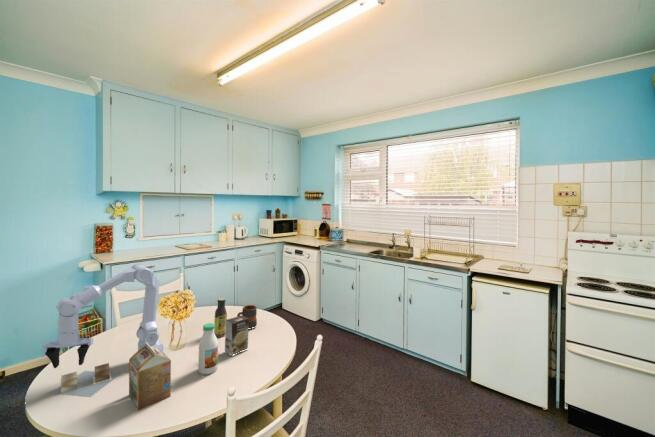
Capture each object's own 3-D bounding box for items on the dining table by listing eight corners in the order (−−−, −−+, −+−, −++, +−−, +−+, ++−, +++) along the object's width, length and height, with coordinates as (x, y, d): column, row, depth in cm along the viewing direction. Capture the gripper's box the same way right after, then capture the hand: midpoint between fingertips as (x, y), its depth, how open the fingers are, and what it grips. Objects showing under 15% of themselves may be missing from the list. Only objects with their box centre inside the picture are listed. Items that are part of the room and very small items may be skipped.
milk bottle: (197, 376, 122) (197, 329, 121) (199, 366, 129) (200, 321, 128) (216, 374, 124) (217, 328, 123) (218, 364, 131) (219, 320, 130)
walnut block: (108, 373, 120) (108, 362, 120) (109, 378, 117) (109, 367, 117) (94, 377, 117) (94, 366, 117) (95, 383, 114) (95, 371, 114)
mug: (233, 328, 168) (233, 308, 167) (251, 322, 176) (252, 303, 176) (240, 333, 162) (240, 312, 161) (259, 327, 170) (260, 307, 170)
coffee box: (231, 357, 138) (232, 323, 137) (224, 352, 142) (225, 319, 141) (248, 349, 145) (249, 318, 144) (240, 345, 149) (241, 314, 148)
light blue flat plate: (121, 374, 121) (121, 373, 121) (90, 398, 106) (90, 396, 106) (85, 371, 122) (85, 370, 122) (49, 394, 107) (49, 393, 107)
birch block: (77, 382, 114) (77, 371, 114) (77, 388, 110) (77, 377, 110) (61, 387, 111) (61, 375, 111) (61, 393, 108) (60, 381, 107)
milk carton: (170, 396, 109) (170, 347, 108) (137, 410, 101) (138, 357, 100) (160, 383, 116) (160, 337, 115) (129, 396, 108) (129, 346, 107)
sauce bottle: (218, 338, 155) (219, 302, 153) (211, 335, 158) (211, 299, 157) (228, 334, 160) (229, 298, 159) (221, 331, 163) (222, 296, 162)
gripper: (96, 323, 115) (96, 357, 116) (50, 327, 111) (51, 362, 112) (88, 331, 109) (88, 366, 110) (39, 335, 104) (39, 372, 105)
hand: (69, 365), depth 110 cm, fingers open, 7 cm apart
